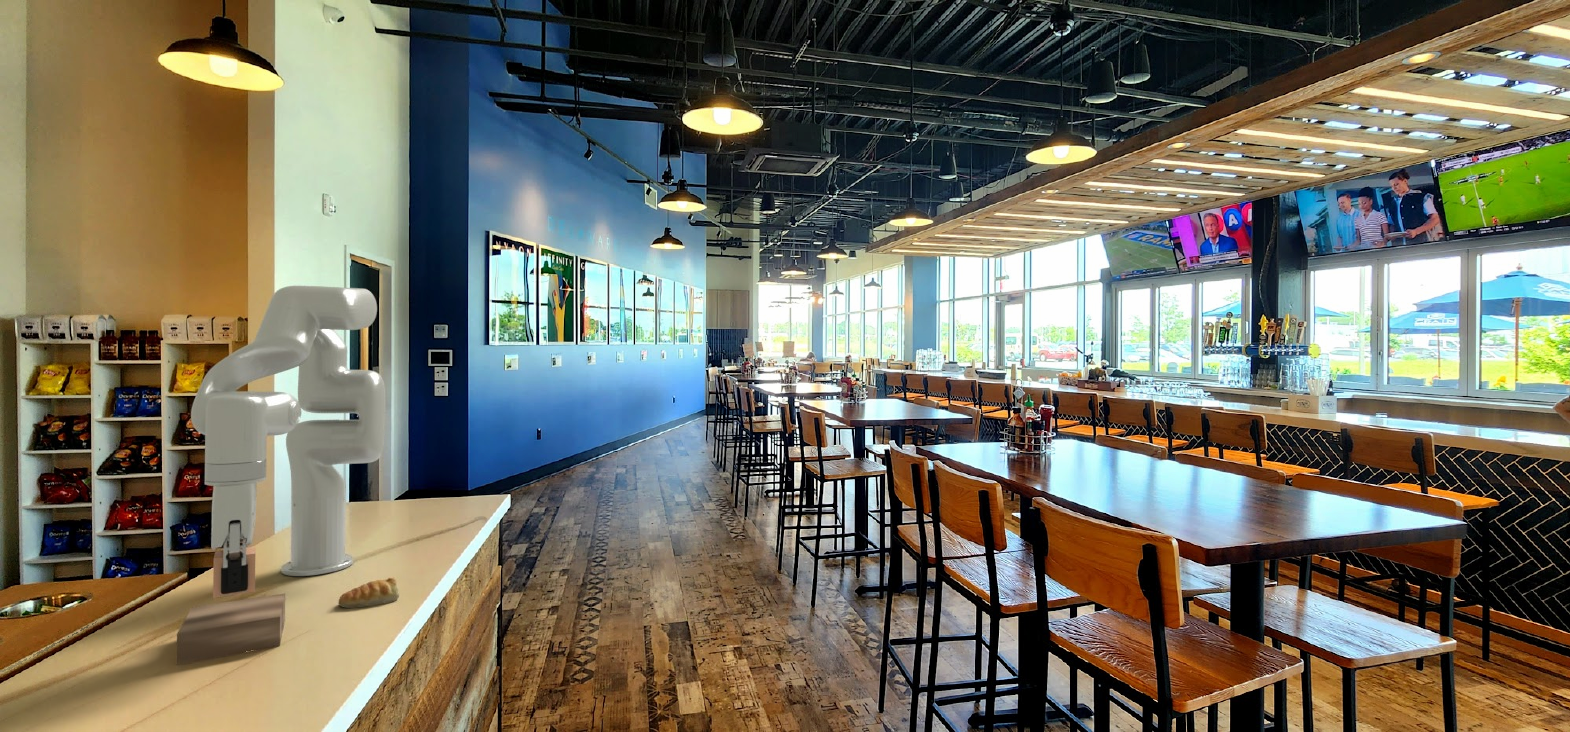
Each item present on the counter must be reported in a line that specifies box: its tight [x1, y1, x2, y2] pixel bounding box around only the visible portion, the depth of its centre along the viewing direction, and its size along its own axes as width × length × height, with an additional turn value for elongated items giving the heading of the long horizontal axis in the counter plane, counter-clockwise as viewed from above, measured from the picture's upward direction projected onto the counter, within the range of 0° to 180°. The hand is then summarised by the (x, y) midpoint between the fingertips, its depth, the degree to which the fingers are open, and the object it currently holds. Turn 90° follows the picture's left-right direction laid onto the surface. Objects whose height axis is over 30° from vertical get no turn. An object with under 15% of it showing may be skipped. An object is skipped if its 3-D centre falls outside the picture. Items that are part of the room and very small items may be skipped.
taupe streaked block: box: [176, 593, 286, 666], centre depth 105 cm, size 12×12×5 cm
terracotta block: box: [212, 546, 256, 599], centre depth 104 cm, size 5×5×6 cm
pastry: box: [337, 577, 400, 609], centre depth 122 cm, size 9×7×4 cm
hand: (235, 585), depth 104 cm, fingers closed on terracotta block, 4 cm apart
